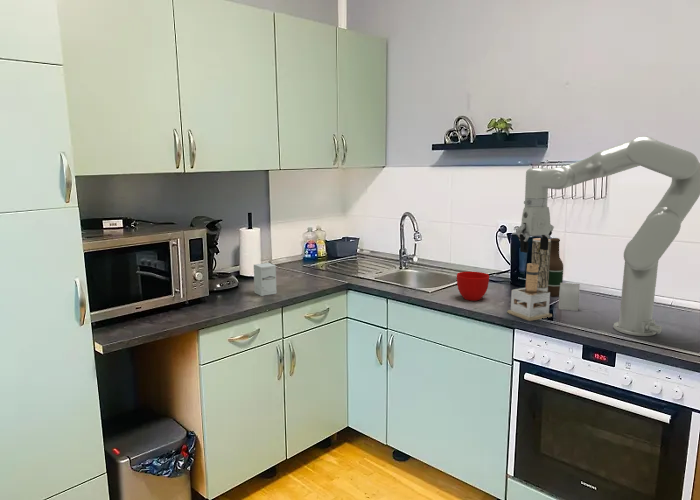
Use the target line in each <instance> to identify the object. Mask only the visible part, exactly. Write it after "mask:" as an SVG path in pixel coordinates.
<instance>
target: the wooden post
mask: <svg viewBox="0 0 700 500" xmlns="http://www.w3.org/2000/svg"><path fill="white" fill-rule="evenodd" d="M538 269H539V264H535V263H530V262H529V263H526V273H525V274H526V277H525V287H524V288H525V293H529V294H535V293H537V283H538ZM524 306H526V307H527V303H526V302H525V303H524ZM533 307H536V303H534V304H533Z"/></svg>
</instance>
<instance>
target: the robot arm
mask: <svg viewBox="0 0 700 500" xmlns="http://www.w3.org/2000/svg"><path fill="white" fill-rule="evenodd" d="M637 167H643V168H645V169H648V170H651V171H653V172H656V173H659V174H661V175H663V176H666V177H669V178H671V183H670V185H669V187H668V189H667V190H666V191H665V192H664V195H663V196H662V198H661V199H660V200H659V202H658V203H657V204H656V206H655V207H654V209H652V211H650V213H649V214H648V215H647V216H646V219H645V220H644V221H643V223H642V224H641V226H640V227H639V229H638V230H637V232H636V233H635V234H634V235H633V237H632V239H630V240H629V241H628V242H627V244H626V246H625V248H624V250H623V260H624V264H623V265H624V267H623V275H622V284H621V285H622V286H621V295H620V296H621V297H620V307H619V309H620V310H619V317H618V319H619V320H618V321H616V322H614V323H613V328H614V330H615V331H617V332H620V333H621V334H622V333H623V334H626V335H630V336H639V337H650V336H654V335H656V334H661V333H662V331H663V325H657V324H656V319H653V315H654V304H655V294H656V286H657V277H658V267H659V260H660V259H661V258H662V256H663V255H664V254H665V252H666V251H667V250H668V248H669V247H670V246H671V244H672V243H673V242H674V240H675V238H677V235H678V234H679V233H680V230H681V226H682V222H683V221H684V219H686V216H688V214H689V212H690V211H691V210H692V208H693V207H694V205H695V204H696V202H697V201H698V199H699V197H700V162H699V160H698V158H697V156H696V154H694V153H693V152H691V151H689V150H686V149H682V148H679V147H677V146H674V145H670V144H669V143H665V142H662V141H659V140H658V139H654V138H653V137H649V136H645V135H642V136H637V137H636V138H634V139H632V140H629V141H626V142H624V143H620V144H617V145H615V146H611V147H609V148H606V149H603V150H600V151H598V152H595V153H594V154H592V155H591V156H588V157H587V158H585V159H582V160H579V161H576V162H573V163H571V164H567V165H564V166H558V167H550V168H544V167H532V168H531V167H530V168H528V169H527V170H526V171H525V191H524V200H523V204H524V207H523V209H522V215H521V224H520V226H518V227H517V228H516V229H515V233H516V236H517V238H518V240H519V241H520V244H519V245H520V247H519V249H520V250H519V251H520V252H521V253H526V254H527V253H529V241H528V240H529V238H530V237H537V236H538V237H540V238H541V239H540V249H542V250H548V240H549V239H551V236H552V234H553V231H554V228H555V226H554V225H552V224H551V213H550V207H549V206H548V197H549V196H548V195H549V193H548V192H549V189H550V190H551V189H552V190H563V189H567V188H570V187H572V186H575V185H578V184H582V183H585V182H588V181H591V180H596V179H600V178H606V177H609V176H612V175H615V174H618V173H621V172H624V171H627V170H630V169H634V168H637Z"/></svg>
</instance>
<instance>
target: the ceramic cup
mask: <svg viewBox="0 0 700 500" xmlns="http://www.w3.org/2000/svg"><path fill="white" fill-rule="evenodd" d="M489 283H490V275H489V274H488V273H485V272H481V271H460V272H458V273H456V284H457V285H456V286H457V289H458V292H459V293H460V295H461V296H462V298H463V299H464V300H466V301H475V302H476V301H479V300H481V299H482V298H483V297H484V296H485V294H486V293H487V290H488V287H489Z"/></svg>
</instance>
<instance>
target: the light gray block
mask: <svg viewBox="0 0 700 500" xmlns="http://www.w3.org/2000/svg"><path fill="white" fill-rule="evenodd" d="M580 286H581V285H580V283H573V282H572V283H570V282H562V283H560V291H559V296H558V310H561V311H572V312H573V311H575V312H578V311H579V304H580V302H579V301H580Z"/></svg>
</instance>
